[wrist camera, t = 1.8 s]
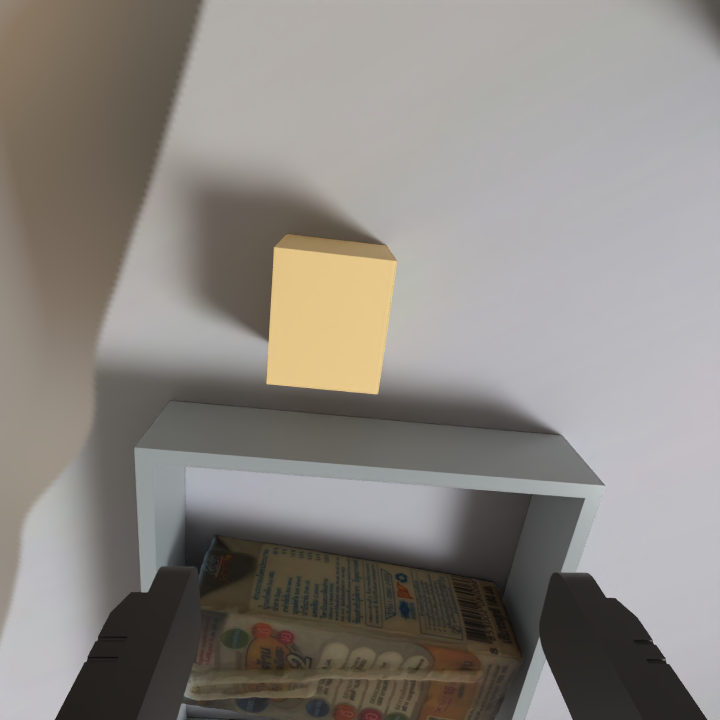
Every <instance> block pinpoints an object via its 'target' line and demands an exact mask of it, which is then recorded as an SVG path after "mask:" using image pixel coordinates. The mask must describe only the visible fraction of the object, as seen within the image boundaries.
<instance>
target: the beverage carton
mask: <svg viewBox="0 0 720 720" xmlns="http://www.w3.org/2000/svg"><path fill="white" fill-rule="evenodd" d="M199 591H200V605H201V633H200V640H199V645H198V649H197V653H196V656H195V660H194V663H193V666H192V670H191V673H190V676H189V680H188V683H187V687H186V690H185V693H184V697H183V700H182V704H189V705H197V706H201V707H207V708H216V709H226V710H231V711H236V712H240V713H244V714H251V715H258V716H264V717H271V718H277V719H283V720H495V717H496V715H497V713H498V712H499V711H500V709H501V707H502V704H503V702H504V700H505V697H506V694H507V691H508V689H509V687H510V684H511V683H512V681H513V680H514V678H515V676H516V674H517V672H518V670H519V668H520V666H521V664H522V662H523V658H524V656H523V652H522V649H521V646H520V644H519V642H518V639H517V636H516V633H515V631H514V628H513V625H512V623H511V622H510V619H509V616H508V613H507V610H506V607H505V606H504V604H503V602H502V599H501V596H500V594H499V591H498V589H497V587H496V585H495V583H494V582H487V581H482V580H478V579H473V578H467V577H461V576H456V575H450V574H445V573H439V572H433V571H428V570H422V569H416V568H409V567H403V566H398V565H393V564H386V563H381V562H376V561H370V560H363V559H358V558H352V557H347V556H340V555H334V554H329V553H323V552H318V551H312V550H307V549H301V548H294V547H288V546H283V545H278V544H270V543H263V542H255V541H248V540H242V539H236V538H230V537H225V536H219V535H215V536H214V537H213V540H212V543H211V545H210V548H209V550H208V551H207V552H206V554H205V557H204V560H203V563H202V566H201V570H200V574H199Z"/></svg>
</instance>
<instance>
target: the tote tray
mask: <svg viewBox="0 0 720 720" xmlns="http://www.w3.org/2000/svg"><path fill="white" fill-rule="evenodd" d="M134 455H135V476H136V496H137V517H138V538H139V559H140V580H141V592H148V591H149V589H150V587H151V584H152V582H153V580H154V578H155V576H156V573H157V571H158V570H159V568H160V567H162V566H182V567H186V531H185V467H198V468H210V469H223V470H236V471H248V472H261V473H274V474H286V475H299V476H312V477H324V478H337V479H350V480H362V481H375V482H387V483H400V484H413V485H425V486H438V487H451V488H463V489H476V490H489V491H501V492H514V493H527V494H532V497H531V500H530V504H529V507H528V511H527V514H526V518H525V521H524V525H523V528H522V532H521V535H520V539H519V542H518V546H517V549H516V553H515V556H514V560H513V563H512V567H511V570H510V574H509V577H508V581H507V584H506V588H505V591H504V595H503V598H502V602H503V604H504V606H505V607H506V610H507V613H508V616H509V619H510V622H511V623H512V625H513V628H514V631H515V633H516V636H517V639H518V642H519V644H520V646H521V649H522V652H523V656H524V658H523V662H522V664H521V666H520V668H519V670H518V672H517V674H516V676H515V678H514V680H513V681H512V683H511V684H510V687H509V689H508V691H507V694H506V697H505V700H504V702H503V704H502V707H501V709H500V711H499V712H498V713H497V715H496V717H495V720H525V718H526V715H527V712H528V709H529V706H530V703H531V700H532V698H533V695H534V692H535V689H536V686H537V683H538V680H539V677H540V674H541V671H542V669H543V666H544V663H545V660H546V657H545V655H544V652H543V649H542V646H541V641H540V635H539V622H540V618H541V613H542V609H543V605H544V601H545V597H546V593H547V589H548V585H549V581H550V577H551V575H552V574H553V573H555V572H565V573H576V570H577V567H578V564H579V561H580V558H581V556H582V553H583V550H584V547H585V544H586V541H587V538H588V535H589V532H590V529H591V527H592V524H593V521H594V518H595V515H596V512H597V509H598V506H599V503H600V500H601V498H602V495H603V492H604V489H605V485H604V483H603V482H602V481H601V480H600V479H599V478H598V476H597V475H596V474H595V473H594V472H593V471H592V469H591V468H590V467H589V466H588V465H587V464H586V462H585V461H584V460H583V459H582V458H581V457H580V455H579V454H578V453H577V452H576V451H575V450H574V448H573V447H572V446H571V445H570V444H569V443H568V441H567V440H566V439H565V438H564V437H563V436H562V435H551V434H539V433H528V432H517V431H506V430H494V429H483V428H472V427H461V426H449V425H438V424H427V423H416V422H404V421H393V420H382V419H371V418H359V417H348V416H337V415H326V414H314V413H303V412H292V411H281V410H270V409H258V408H247V407H236V406H225V405H213V404H202V403H191V402H180V401H169V402H168V404H167V405H166V406H165V408H164V409H163V410H162V412H161V413H160V414H159V416H158V417H157V418H156V419H155V421H154V422H153V423H152V425H151V426H150V427H149V429H148V430H147V431H146V433H145V434H144V435H143V437H142V438H141V439H140V440H139V442H138V443H137V444H136V446H135V447H134ZM177 720H227V719H202V718H187V704H181V707H180V710H179V714H178V717H177Z"/></svg>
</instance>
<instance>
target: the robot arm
mask: <svg viewBox="0 0 720 720" xmlns="http://www.w3.org/2000/svg"><path fill="white" fill-rule="evenodd" d="M200 633H201V605H200V591H199V577H198V569H197V567H182V566H162V567H160V568H159V570H158V571H157V573H156V576H155V578H154V580H153V582H152V584H151V587H150V589H149V591H148V592H131V593H130V594H129V595H128V596H127V597H126V598H125V599H124V600H123V601H122V602H121V603H120V604H119V605H118V606H117V607H116V608H115V609H114V610H113V611H112V612H111V613H110V615H109V617H108V619H107V621H106V623H105V624H104V626H103V628H102V630H101V632H100V634H99V636H98V641H96V642H95V644H94V646H93V648H92V649H91V651H90V653H89V655H88V659H87V662H85V663H84V665H83V667H82V669H81V671H80V672H79V674H78V676H77V678H76V680H75V682H74V684H73V686H72V688H71V690H70V692H69V694H68V695H67V697H66V699H65V701H64V703H63V705H62V707H61V709H60V711H59V713H58V715H57V717H56V719H55V720H177V717H178V714H179V710H180V707H181V704H182V700H183V697H184V693H185V690H186V687H187V683H188V680H189V676H190V673H191V670H192V666H193V663H194V660H195V656H196V653H197V649H198V645H199V640H200ZM539 635H540V641H541V646H542V649H543V652H544V655H545V657H546V659H547V661H548V664H549V666H550V668H551V671H552V673H553V675H554V677H555V680H556V682H557V684H558V687H559V689H560V691H561V693H562V696H563V698H564V700H565V703H566V705H567V707H568V709H569V712H570V714H571V716H572V719H573V720H707V719H706V717H705V716H704V714H703V713H702V711H701V710H700V708H699V707H698V705H697V704H696V703H695V701H694V700H693V698H692V697H691V695H690V694H689V692H688V691H687V689H686V688H685V686H684V685H683V684H682V682H681V681H680V679H679V678H678V676H677V675H676V673H675V672H674V670H673V669H672V668H671V666H670V665H669V664H667V663H666V659H665V657H664V656H663V654H662V653H661V651H660V650H659V649H658V647H657V646H656V645H654V644H653V640H652V638H651V637H650V635H649V634H648V632H647V631H646V630H645V628H644V627H643V625H642V624H641V622H640V621H639V619H638V618H637V617H636V616H635V615H634V614H633V613H632V612H630V611H629V610H628V609H627V608H626V607H625V606H624V605H622V604H621V603H620V602H619V601H618V600H617V599H616V598H606V597H605V595H604V594H603V592H602V591H601V589H600V587H599V586H598V584H597V583H596V581H595V580H594V578H593V577H592V576H591V575H590V574H588V573H565V572H555V573H553V574H552V575H551V577H550V581H549V585H548V589H547V593H546V597H545V601H544V605H543V609H542V613H541V618H540V622H539Z"/></svg>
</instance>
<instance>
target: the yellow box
mask: <svg viewBox="0 0 720 720" xmlns="http://www.w3.org/2000/svg"><path fill="white" fill-rule="evenodd" d="M396 266H397V260H396V259H395V257H394V256H393V254H392V253H391V251H390V250H389V248H388V247H387V245H378V244H369V243H361V242H352V241H344V240H335V239H326V238H318V237H309V236H300V235H292V234H286V235H285V236H284V237H283V238H282V239H281V240H280V242H279V243H278V244H277V245H276V246H275V247H274V258H273V276H272V294H271V312H270V329H269V347H268V365H267V383H266V384H272V385H282V386H293V387H304V388H315V389H325V390H336V391H347V392H358V393H369V394H378V391H379V384H380V377H381V370H382V363H383V356H384V349H385V342H386V335H387V328H388V321H389V314H390V307H391V301H392V294H393V287H394V280H395V273H396Z"/></svg>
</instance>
